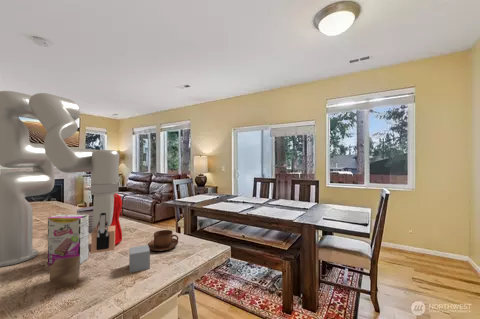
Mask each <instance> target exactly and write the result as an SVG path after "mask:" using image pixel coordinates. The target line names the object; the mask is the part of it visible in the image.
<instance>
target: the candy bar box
mask: <svg viewBox="0 0 480 319" xmlns="http://www.w3.org/2000/svg"><path fill="white" fill-rule="evenodd" d="M89 236H90V234H89V215H77V214H66V213H65V214H55V215H52V216H49V217H48V218H47V265H49V266H50V265H51V266H52V264H53V263H54V261H55V260H58V259H64V258H70V257H76V256H80V265H81V264H84V263H85V262H86V261H87V260H89V250H90V249H89V248H90V247H89V246H90V245H89V244H90V243H89V241H90V240H89V239H90V238H89Z"/></svg>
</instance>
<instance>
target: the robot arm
mask: <svg viewBox="0 0 480 319" xmlns="http://www.w3.org/2000/svg"><path fill="white" fill-rule="evenodd" d="M80 115H81V110H80V107H79V105H78V104H77V103H76V102H75V101H74V100H72V99H70V98H65V97H63V96H58V95H55V94H51V93H45V92H38V93H35V94H32V95H31V94H27V93H24V92H18V91H12V90H0V167H2V168H7V169H26V168H27V169H28V168H29V169H30V168H32V170H27V171H26V170H24V171H23V170H22V171H8V172H3V173H0V267H5V266H6V267H7V266H12V265H16V264H20V263H24V262H26V261H29V260H31V259H33V258H35V257H37V256H38V254H39V250H38V249H36V248H33V237H34V236H33V235H34V234H33V231H34V229H33V226H34V225H33V217H34V215H33V207H32V205H31V203H30V202H29V201H28V200H27V199H26V198H27V197H33V196H34V197H35V196H40V195H47V194H49V193H51V191H52V190H53V189H54V187H55V183H56V182H55V180H56V179H55V177H56V176H55V174H56V173H55V169H57V170H59V171H60V172H62V173H68V174H70V173H73V174H75V173H89V172H90V195H91V196H94V197H93V205H92V207H93V222H92V227H93V228H95V227H97V225H98V234H97V248H96V249H97V250H103V249H108V248H109V235H108V228H109V226H110V225H111V222H112V217H113V208H114V194H116V193H117V194H119V182H120V181H119V176H120V175H119V174H120V171H119V170H120V154H119V152H118V151H117V150H114V149H113V150H111V149H94V148H93V149H92V148H77V147H69V146H68V144H67V143H66V142H65V141H64V140H65V139H68V138H70V137H72V136H74V134H76V133H77V131H78V128H79V126H78V123H77V120H78V119H79V118H80ZM21 118H24V119H31V120H38V121H39V123H40V124H41V125H42V127H43V128H44V129H45V131H46V135H45V137H44V141H43V143H37V142H36V143H35V142H31V140H30V130H29V128H28V126H26V123H24V121H22V120H21ZM105 228H106V229H105Z"/></svg>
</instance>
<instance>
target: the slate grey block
mask: <svg viewBox="0 0 480 319" xmlns="http://www.w3.org/2000/svg"><path fill="white" fill-rule="evenodd" d="M128 253H129V255H128V256H129V260H128V262H129V263H128V264H129V273H130V274H131V273H135V272H136V273H137V272H141V271H146V270H150V268H151V266H150V265H151V263H150V262H151V249H149V246H148V244H145V245H138V246H131V247H129V252H128Z"/></svg>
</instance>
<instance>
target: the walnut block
mask: <svg viewBox="0 0 480 319" xmlns="http://www.w3.org/2000/svg"><path fill="white" fill-rule="evenodd" d="M80 268H81V264H80V256H76V257H70V258H64V259H58V260H55V261H54V263H53V264H52V265H51V266H50V267H49V290H50V291H51V290H55V289H59V288H64V287H69V286H74V285H77V283H78V280H79V277H80V276H81V274H80V273H81V270H80Z"/></svg>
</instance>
